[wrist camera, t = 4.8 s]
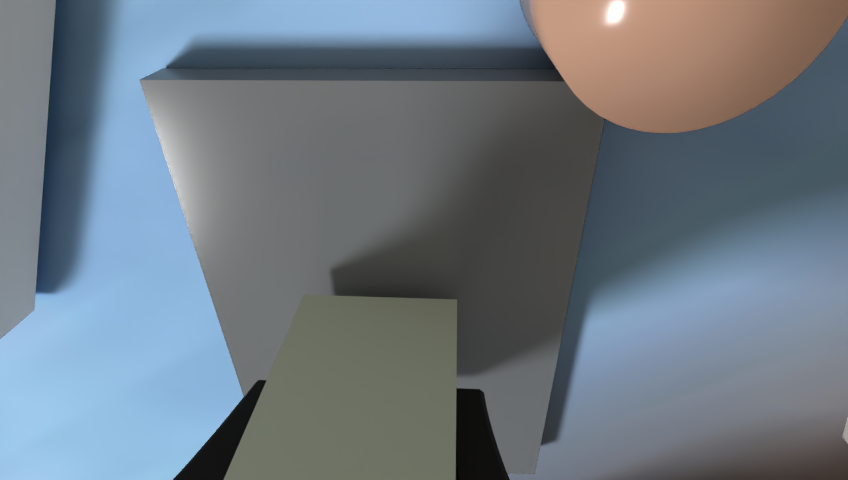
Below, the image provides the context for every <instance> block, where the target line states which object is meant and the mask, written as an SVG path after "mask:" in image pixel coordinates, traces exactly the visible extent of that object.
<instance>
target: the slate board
mask: <svg viewBox="0 0 848 480" xmlns="http://www.w3.org/2000/svg"><path fill="white" fill-rule="evenodd" d="M140 83H141V86H142V89H143V92H144V95H145V98H146V101H147V104H148V107H149V110H150V113H151V116H152V119H153V122H154V125H155V128H156V131H157V134H158V137H159V140H160V144H161V147H162V150H163V153H164V156H165V159H166V162H167V165H168V168H169V171H170V174H171V177H172V180H173V183H174V186H175V189H176V192H177V195H178V198H179V201H180V204H181V207H182V210H183V213H184V216H185V219H186V222H187V225H188V228H189V232H190V235H191V238H192V241H193V244H194V247H195V250H196V253H197V256H198V259H199V262H200V265H201V268H202V271H203V274H204V277H205V280H206V283H207V286H208V289H209V292H210V295H211V298H212V301H213V304H214V307H215V310H216V313H217V316H218V319H219V323H220V326H221V329H222V332H223V335H224V338H225V341H226V344H227V347H228V350H229V353H230V356H231V359H232V362H233V365H234V368H235V371H236V374H237V377H238V380H239V383H240V386H241V389H242V392H243V395H244V396H245V395H246V394H247V392H248V391H249V390H250V389H251V387H252V386H253V385H254V384H255V383H256V382H257V381H258V380H267V378H268V376H269V374H270V371H271V369H272V367H273V364H274V362H275V360H276V358H277V355H278V353H279V351H280V348H281V346H282V344H283V341H284V339H285V337H286V334H287V332H288V330H289V328H290V325H291V323H292V321H293V318H294V316H295V314H296V311H297V309H298V307H299V304H300V302H301V300H302V298H303V295H330V296H362V297H394V298H426V299H457V377H456V388H465V389H480V390H481V391H483V392H484V395H485V401H486V406H487V411H488V415H489V419H490V423H491V427H492V430H493V433H494V437H495V440H496V443H497V446H498V449H499V452H500V455H501V458H502V461H503V464H504V466H505V469H506V471H507V473H517V474H535V471H536V466H537V461H538V456H539V451H540V446H541V440H542V435H543V430H544V425H545V420H546V415H547V410H548V405H549V400H550V395H551V390H552V385H553V380H554V374H555V369H556V364H557V359H558V354H559V349H560V344H561V339H562V334H563V329H564V324H565V319H566V313H567V308H568V303H569V298H570V293H571V288H572V283H573V278H574V273H575V268H576V263H577V258H578V253H579V247H580V242H581V237H582V232H583V227H584V222H585V217H586V212H587V207H588V202H589V197H590V192H591V187H592V181H593V176H594V171H595V166H596V161H597V156H598V151H599V146H600V141H601V136H602V131H603V126H604V121H605V118H603V117H601V116H599V115H598V114H596V113H595V112H594V111H592V110H591V109H590V108H588V107H587V106H586V105H585V104H584V103H583V102H582V101H581V100H580V99H579V98H578V97H577V96H576V95H575V94H574V93H573V91H572V90H571V89H570V87H569V86H568V84H567V83H566V82H565V80H564V79H563V77H562V76H561V74H560V73H559V71H558V70H557V69H235V68H163V69H161V70H159V71H157V72H155V73H153V74H151V75H149V76H146V77H144V78H142V79H140Z"/></svg>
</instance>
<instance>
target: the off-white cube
mask: <svg viewBox="0 0 848 480" xmlns="http://www.w3.org/2000/svg"><path fill="white" fill-rule="evenodd" d="M842 437H843V438H844V439H845V441H846V442H847V443H848V418H847V422H846V425H845V429H844V433H843V436H842Z"/></svg>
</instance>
